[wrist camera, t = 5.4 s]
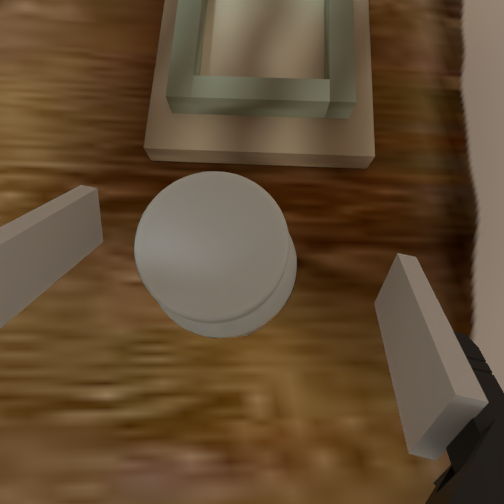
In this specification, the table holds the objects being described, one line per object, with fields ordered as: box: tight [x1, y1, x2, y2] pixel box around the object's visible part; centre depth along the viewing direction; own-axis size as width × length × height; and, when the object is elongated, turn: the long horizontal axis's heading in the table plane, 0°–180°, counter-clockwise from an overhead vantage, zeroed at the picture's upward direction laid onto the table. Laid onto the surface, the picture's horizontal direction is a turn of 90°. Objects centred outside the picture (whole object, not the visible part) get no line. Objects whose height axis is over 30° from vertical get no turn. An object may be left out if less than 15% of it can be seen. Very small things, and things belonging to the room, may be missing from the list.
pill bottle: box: [134, 171, 297, 338], centre depth 14 cm, size 6×6×10 cm
